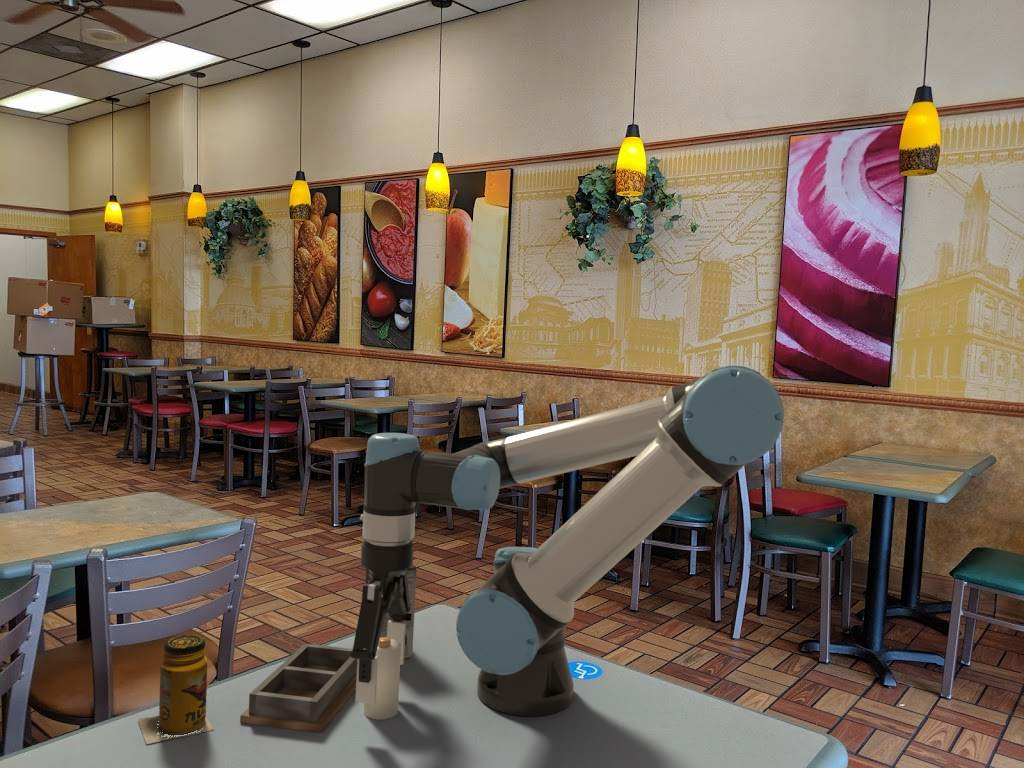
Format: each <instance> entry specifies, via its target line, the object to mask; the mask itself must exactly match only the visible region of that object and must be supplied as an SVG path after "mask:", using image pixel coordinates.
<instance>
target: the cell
mask: <svg viewBox="0 0 1024 768" xmlns="http://www.w3.org/2000/svg"><path fill="white" fill-rule="evenodd" d="M400 655H401V644H400V642H398V641H396V640H393V639H390V638H387V637H381V638H380V639H379V643H378V647H377V651H376V656H378V668H377V689H376V702H375V704H367V703H363V714H364V715H365V717H366V718H369V719H371V720H377V721H379V720H381V721H382V720H389V719H391V718H394V717H395V716H396V715H398V714H399V713H398V712H399V699H400V698H399V697H400V694H399V693H400V679H401V678H400V677H401V676H400V675H401V674H400V673H401V672H400V671H401V665H400ZM388 718H389V719H388Z"/></svg>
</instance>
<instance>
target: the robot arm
mask: <svg viewBox="0 0 1024 768" xmlns="http://www.w3.org/2000/svg"><path fill="white" fill-rule="evenodd" d="M784 418H785V409H784V405H783V400H782V398H781V396H780V393H779V391H778V388H777V387H775V385H774V384H773V383H772V382H771V380H770V379H768V378H767V377H765V376H764V375H763V374H761V372H759V371H757V370H755V369H754V368H753V369H752V368H748V367H747V366H743V365H726V366H721V367H718V368H715V369H713V370H711V371H710V372H708V373H706V374H704V375H702V376H701V377H699V378H696V379H694V380H692V381H689V382H685V383H682V384H681V383H680V384H678V385H675V386H671V387H669V389H668V390H667V391H666V394H665V395H663V396H660V397H655V398H652V399H648V400H644V401H640V402H636V403H633V404H629V405H628V404H627V405H625V406H620V407H616V408H613V409H610V410H605V411H602V412H598V413H594V414H589V415H587V416H582V417H579V418H575V419H571V420H568V421H563V422H560V423H556V424H552V425H548V426H545V427H544V426H543V427H541V428H537V429H533V430H529V431H525V432H522V433H517V434H513V435H510V436H507V437H502V438H499V439H494V440H486V441H483V442H479V443H476V444H474V445H473V446H471V447H469V448H465V449H462V450H460V451H457V452H455V453H449V452H438V451H437V452H436V451H427V450H424V449H420V447H421V446H420V442H419V440H420V439H419V438H418V437H417V435H414V434H409V433H403V432H402V433H401V432H380V433H374V434H372V435H371V436H370V437H369V438H368V440H367V445H366V453H365V454H366V455H365V463H364V465H363V466H364V493H363V494H364V498H363V499H364V500H363V513H361V514H360V516H359V520H360V521H362V535H361V536H362V537H363V538H364V539H363V540H362V542H361V547H360V548H361V552H360V564H361V566H362V567H363V568H364V569H365V570H366V569H369V570H370V571H371V572H372V574H373V575H372V580H370V582H369V584H366V583H364V584H363V585H362V596H361V604H360V608H359V612H358V613H359V614H358V619H357V624H356V631H355V636H354V639H353V640H354V641H353V645H352V649H353V650H352V651H351V657H352V658H355V659H357V679H356V690H355V703H361V704H364V703H367V704H375V702H376V689H377V668H378V656H376V651H377V647H378V643H379V639H380V635H381V631H382V627H383V623H384V619H385V615H386V613H388V612H389V616H390V619H393V621H391V620H389V621H388V625H387V638H390V639H393V640H396V641H398V642H400V644H401V655H400V666H403V664H404V663H405V658H404V649H405V629H406V622H404V620H405V621H411V618H412V614H410V613H409V612H410V610H411V607H410V597H409V588H408V579H407V569H408V568H410V567H411V566H412V564H413V563H414V547H415V546H414V542H413V538H414V537H415V527H416V505H417V504H416V503H418V504H424V505H425V504H426V505H430V506H431V505H433V506H439V507H446V508H448V507H449V508H453V509H454V508H455V509H462V510H464V511H473V510H474V511H489V510H490V509H492V508H493V507H494V505H495V503H496V500H497V499H498V497H499V493H500V489H504V488H509V487H513V486H515V485H519V484H523V483H527V482H532V481H535V480H539V479H545V478H549V477H552V476H557V475H560V474H565V473H570V472H574V471H577V470H583V469H587V468H591V467H595V466H598V465H602V464H607V463H612V462H616V461H619V460H626V459H628V458H632V457H634V458H633V459H632V460H631V461H630V462H629V463H628V464H626V465H625V466H624V467H623V468H622V469H621V470H620V471H619V472H618V473H617V474H616V475H615V476H613V478H612V479H611V480H609V481H608V482H607V483H606V484H605V485H604V486H603V487H602V488H601V489H600V490H599V491H598V492H597V493H596V494H594V495H593V496H592V498H590V499H589V500H588V501H587V502H586V503H585V504H583V506H582V507H581V508H580V509H578V510H577V512H575V513H574V514H573V515H571V517H570V518H569V519H568V520H567V521H566V522H565V523H564V524H562V526H560V527H559V528H558V529H557V530H556V531H555V532H554V533H553V534H552V535H551V536H549V538H547V539H546V540H545V541H544V542H543V543H542V544H541V545H540V546H539V547H529V546H528V547H527V546H507V547H506V546H505V547H502V548H498V549H497V550H496V552H495V555H494V559H493V561H492V562H493V563H492V564H493V565H494V566H493V575H492V576H491V577H490V578H488V580H486V581H485V582H484V583H483V584H482V585H481V586H480V587H479V588H478V589H477V590H475V592H472V593H471V594H470V595H468V596H467V597H466V598H465V600H464V601H463V605H461V607H460V609H459V611H458V614H457V618H456V623H455V624H456V626H455V630H456V638H457V640H458V644H459V646H460V648H461V651H462V652H463V653H464V655H465V656H466V658H467V659H468V660H469V661H470V662H471V663H472V664H473V665H475V666H476V667H477V668H478V669H480V671H479V673H478V676H477V677H478V678H477V689H476V690H477V691H476V693H477V694H476V695H477V696H478V699H479V700H480V701H481V702H482V703H483V704H485V705H486V706H488V707H490V708H491V709H493V710H495V711H499V712H502V713H505V714H509V715H515V716H522V717H523V716H524V717H525V716H526V717H539V716H546V715H551V714H556V713H558V712H561V711H562V710H566V708H568V707H569V706H570V705H571V704H572V702H573V699H574V681H573V676H572V673H571V667H570V665H569V661H568V658H567V654H566V651H565V650H566V649H565V645H566V644H565V640H566V626H567V624H569V623H570V622H571V621H572V620H573V619H574V617H575V602H576V601H577V600H578V599H580V597H581V596H582V595H584V594H585V593H586V592H587V591H588V590H590V589H591V587H593V585H595V584H596V583H597V582H598V581H600V580H601V579H602V578H603V576H605V575H606V574H607V573H608V572H610V571H611V569H613V568H614V566H616V565H617V564H618V563H619V562H620V561H621V560H622V559H624V558H625V557H626V556H627V555H628V554H630V552H631V551H633V550H634V549H635V548H636V547H638V545H639V544H640V543H641V542H643V541H644V540H645V539H646V538H647V537H648V536H649V535H650V534H651V533H653V532H654V531H655V530H656V529H657V528H658V527H660V526H661V524H663V523H664V522H665V521H666V520H667V519H669V517H671V516H672V515H673V514H674V513H675V512H676V511H677V510H678V509H679V508H680V507H681V506H683V505H684V504H685V503H686V502H687V501H688V500H690V499H691V498H692V497H693V496H694V495H695V494H696V493H698V491H699V490H700V489H702V488H703V487H722V486H723V485H724V484H726V482H728V480H730V479H731V478H732V477H733V476H735V475H736V473H738V472H739V471H740V470H741V469H742V468H743V467H745V466H746V465H747V464H748V463H751V462H753V461H754V462H755V461H756V460H757V459H759V458H762V457H763V456H764V455H765V454H767V453H768V452H769V451H770V450H771V449H772V448H773V447H774V445H775V444H776V442H777V441H778V439H779V437H780V434H781V432H782V429H783V425H784ZM404 603H405V604H404ZM407 612H408V613H407Z"/></svg>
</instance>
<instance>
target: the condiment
mask: <svg viewBox="0 0 1024 768" xmlns="http://www.w3.org/2000/svg"><path fill="white" fill-rule="evenodd" d="M205 647H206V642H205V639H204V637H203V636H199V635H197V634H196V635H193V634H184V635H183V634H182V635H177V636H174V637H171V638H169V639H167V641H166V642H164V645H163V651H164V652H163V659H162V660H161V663H160V667H159V675H160V676H159V708H158V710H159V711H158V713H159V714H158V715H156V716H150V717H148V716H147V717H142V718H138V719H137V720H138V725H139V727H140V731H141V734H142V736H143V739H144V741H145V744H146V745H149V744H153V743H159V742H161V741H167V740H171V739H177V738H180V737H179V736H178V737H176V736H175V737H174V735H184V734H187V735H185V736H183V737H188V736H193V735H197V734H201V733H206V732H210V731H213V730H214V728H213V726H212V724H211V722H210V721H209V719H208V717H207V715H206V714H207V691H208V689H207V687H208V685H207V684H208V682H207V681H208V658H207V656H206V655H205V654H206V649H205ZM158 721H159V722H158ZM157 724H159V725H157ZM157 727H158V728H157ZM202 728H203V729H202ZM196 730H197V732H198V731H200V730H201V731H202V732H201V731H200V732H198V733H196V732H195V733H196V734H195V733H194V734H192V733H191V732H194V731H196ZM158 732H159V733H160V732H161V733H162V732H163V733H162V735H164V734H168V735H171V736H172V735H173V737H171V736H170V737H171V738H170V737H169V738H168V737H167V736H166V737H161V734H159V735H157V733H158ZM188 733H191V734H189V735H188ZM157 736H158V737H157ZM183 737H182V738H183ZM167 738H168V739H167Z"/></svg>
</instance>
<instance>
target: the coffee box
mask: <svg viewBox="0 0 1024 768" xmlns="http://www.w3.org/2000/svg"><path fill="white" fill-rule="evenodd" d="M417 568H418V567H417V566H416V565H415V564H413V563H412V566H411V567H410V568H408V569H407V579H408V588H409V597H410V607H411V610H410V612H409V613H410V614H412V618H411V621H405V620H404V622H406V629H405V649H404V659H407V658H412V657H413V649H414V648H413V646H414V645H413V644H414V629H415V627H414V626H415V625H414V624H415V613H416V612H415V611H416V609H415V608H416V607H415V606H416V590H417V589H416V587H417V570H418V569H417ZM372 575H373V574H372V572H371V571H370V570H369V569H366V568H365V584H369V582H370V580H372ZM404 604H405V603H404ZM407 613H408V612H407ZM389 620H391V621H393V619H390V616H389V612H388V613H386V615H385V619H384V623H383V627H382V631H381V635H380V638H381V637H387V625H388V621H389Z"/></svg>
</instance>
